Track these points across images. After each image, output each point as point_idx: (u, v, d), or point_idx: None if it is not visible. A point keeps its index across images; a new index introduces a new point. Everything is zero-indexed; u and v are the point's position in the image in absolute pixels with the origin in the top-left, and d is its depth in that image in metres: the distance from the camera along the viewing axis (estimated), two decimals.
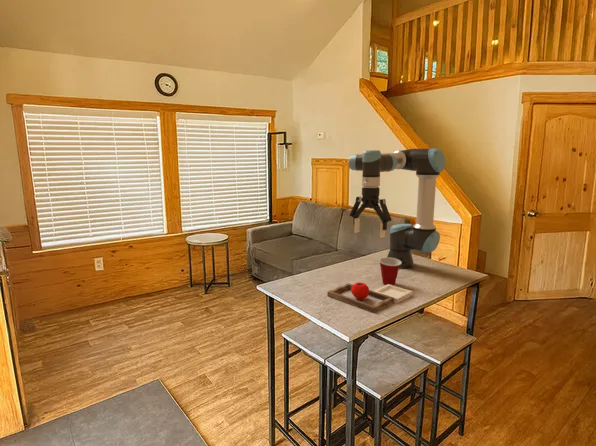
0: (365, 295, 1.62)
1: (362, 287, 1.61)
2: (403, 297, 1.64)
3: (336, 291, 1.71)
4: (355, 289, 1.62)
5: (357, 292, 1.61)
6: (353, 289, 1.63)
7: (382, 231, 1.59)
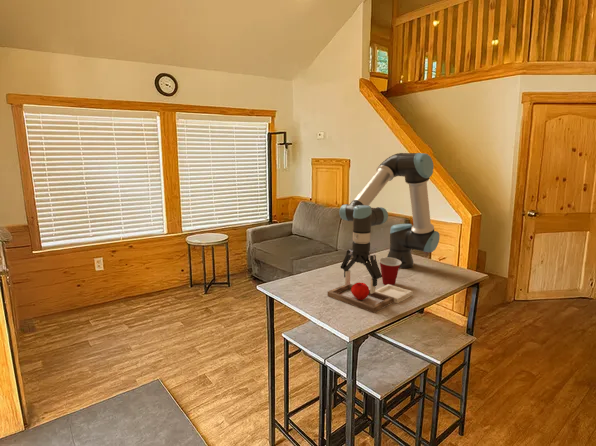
0: (365, 295, 1.62)
1: (363, 287, 1.61)
2: (403, 297, 1.64)
3: (336, 291, 1.71)
4: (355, 289, 1.62)
5: (357, 292, 1.61)
6: (353, 289, 1.63)
7: (372, 287, 1.58)
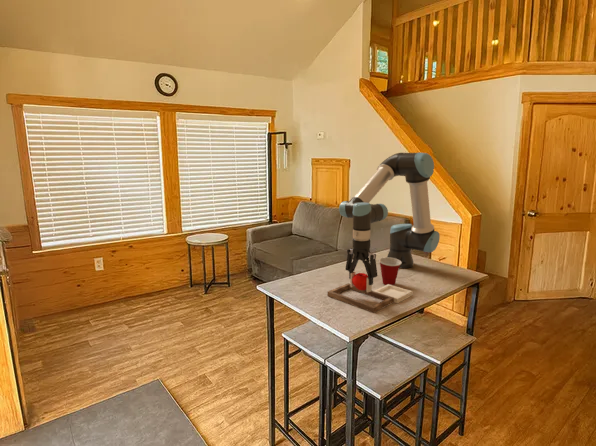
0: (366, 285, 1.61)
1: (364, 277, 1.61)
2: (403, 297, 1.64)
3: (336, 291, 1.71)
4: (356, 279, 1.62)
5: (358, 282, 1.61)
6: (354, 280, 1.63)
7: (368, 286, 1.61)
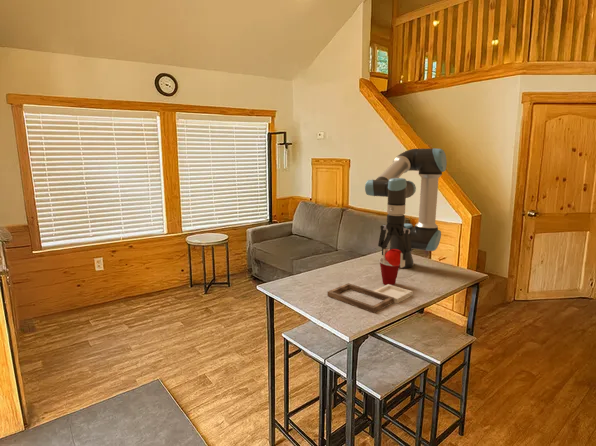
0: None
1: (397, 253, 1.62)
2: (403, 297, 1.64)
3: (336, 291, 1.71)
4: (390, 255, 1.63)
5: (392, 257, 1.62)
6: (388, 255, 1.64)
7: (402, 261, 1.62)
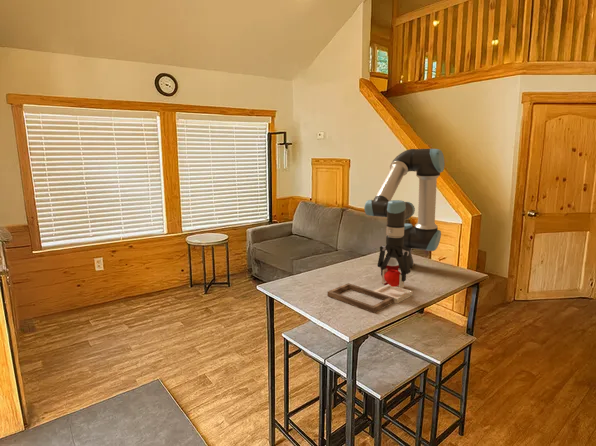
0: None
1: (396, 274, 1.64)
2: (403, 297, 1.64)
3: (336, 291, 1.71)
4: (389, 276, 1.65)
5: (391, 279, 1.64)
6: (387, 276, 1.66)
7: (401, 282, 1.64)
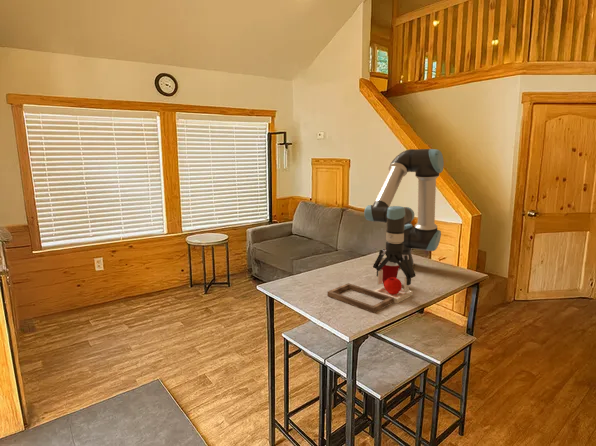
0: (398, 289, 1.65)
1: (396, 282, 1.65)
2: (403, 297, 1.64)
3: (336, 291, 1.71)
4: (388, 284, 1.66)
5: (390, 286, 1.65)
6: (386, 284, 1.67)
7: (406, 286, 1.62)
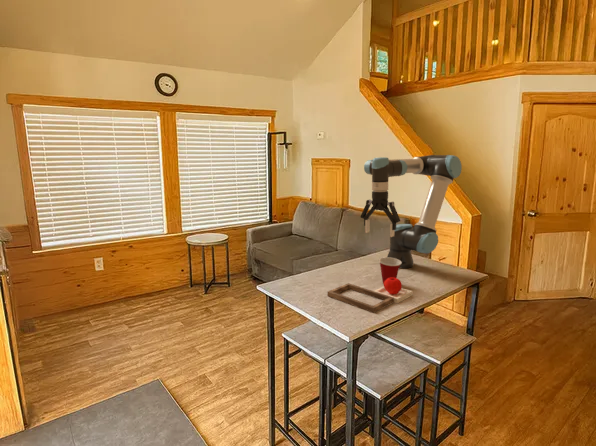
0: (398, 289, 1.65)
1: (396, 282, 1.65)
2: (403, 297, 1.64)
3: (336, 291, 1.71)
4: (388, 284, 1.66)
5: (390, 286, 1.65)
6: (386, 284, 1.67)
7: (392, 231, 1.75)
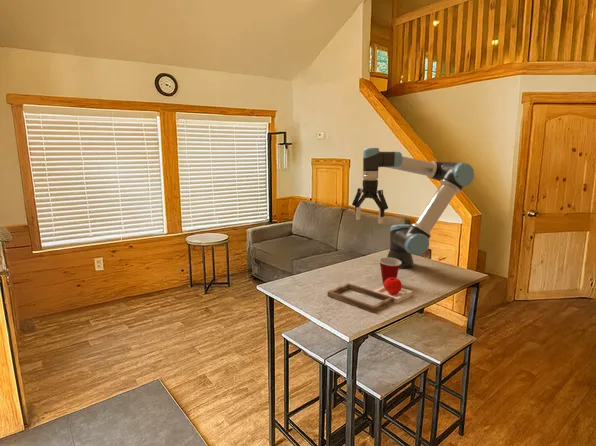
0: (398, 289, 1.65)
1: (396, 282, 1.65)
2: (403, 297, 1.64)
3: (336, 291, 1.71)
4: (388, 284, 1.66)
5: (390, 286, 1.65)
6: (386, 284, 1.67)
7: (380, 218, 1.84)
